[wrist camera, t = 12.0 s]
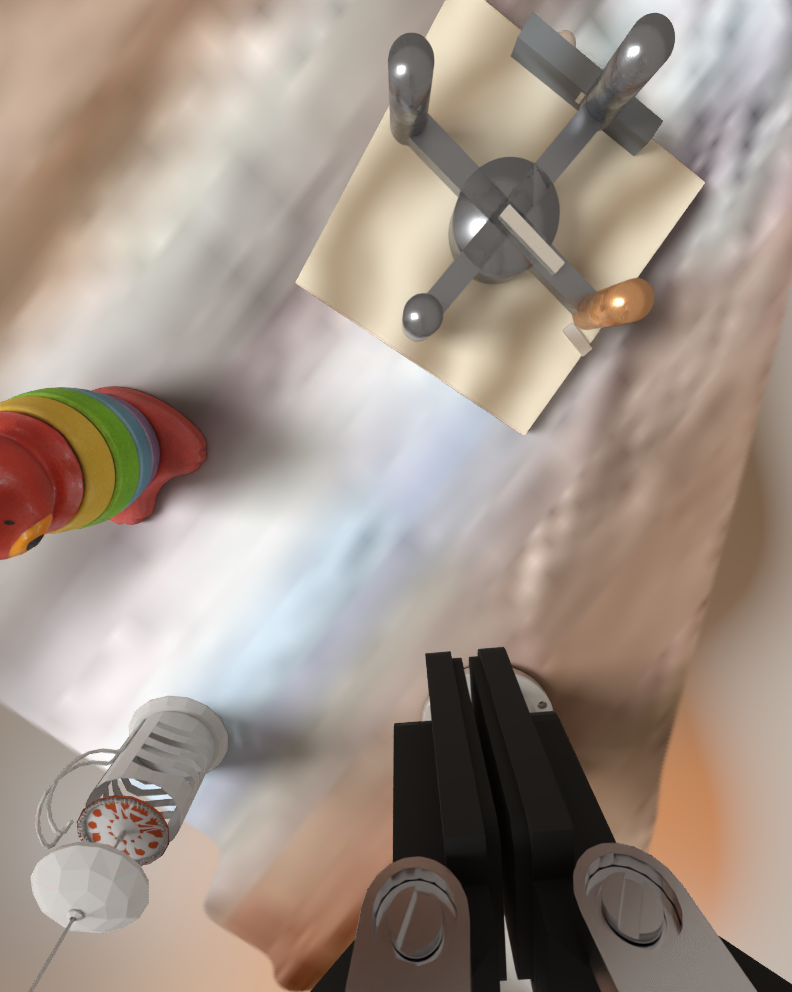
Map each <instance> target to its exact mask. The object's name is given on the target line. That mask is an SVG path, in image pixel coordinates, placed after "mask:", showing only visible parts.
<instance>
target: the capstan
mask: <svg viewBox="0 0 792 992" xmlns="http://www.w3.org/2000/svg"><path fill="white" fill-rule="evenodd" d="M674 43H675V32H674V28H673V25H672V23H671V22H670V20H669V19H668V18H667V17H666V16H664V15H662V14H659V13H650V14H647V15H645V16H643V17H642V18H640V19H639V20H638V21H637V22H636V23H635V25H634V26H633V28H632V29H631V31H630V32H629V33H628V35H627V36H626V38H625V39H624V41H623V42H622V43H621V45H620V46H619V48H618V49H617V51H616V52H615V53H614V55H613V56H612V58H611V59H610V61H609V62H608V63H607V65H606V66H605V68H604V69H603V71H602V72H601V73H600V75H599V76H598V78H597V79H596V81H595V82H594V83H593V85H592V86H591V88H590V89H589V91H588V92H587V93H586V95H585V96H584V98H583V99H582V102H581V104H580V109H579V110H578V111H577V113H576V114H575V115H574V116H573V117H572V119H571V120H570V121H569V122H568V124H567V125H566V126H565V127H564V128H563V130H562V131H561V132H560V133H559V134H558V136H557V137H556V138H555V139H554V140H553V142H552V143H551V144H550V145H549V146H548V148H547V149H546V150H545V151H544V153H543V154H542V155H541V156H540V157H539V159H538V160H537V161H536V162H535V163H533V162H531V161H529V160H526V159H523V158H519V157H502V158H498V159H494V160H492V161H490V162H488V163H486V164H484V165H483V166H481V167H480V168H479V166H478V165H477V164H476V163H475V162H474V161H473V160H472V159H471V158H470V157H469V156H468V155H467V154H466V153H465V152H464V151H463V150H462V149H461V147H460V146H459V145H458V144H457V143H456V142H455V141H454V140H453V139H452V138H451V137H450V136H449V135H448V134H447V133H446V132H445V131H444V129H443V128H442V127H441V126H440V125H439V124H438V123H437V122H436V121H435V120H434V119H433V118H432V117H431V116H430V115H429V114H428V110H429V102H430V94H431V86H432V79H433V71H434V60H435V59H434V52H433V49H432V47H431V45H430V43H429V42H428V41H427V39H426V38H424V37H423V36H422V35H420V34H417V33H406V34H404V35H402V36H400V37H399V38H398V39H397V40H396V41H395V42H394V43H393V45H392V47H391V49H390V52H389V58H388V70H389V108H390V130H391V133H392V135H393V137H394V139H395V140H396V141H397V142H398V143H400V144H402V145H405V146H409V147H410V148H411V149H412V150H413V151H414V153H415V154H416V155H417V156H418V157H419V158H420V159H421V160H422V161H423V162H424V163H425V164H426V165H427V166H428V167H429V168H430V169H431V170H432V171H433V172H434V173H435V174H436V175H437V176H438V177H439V178H440V179H441V180H442V181H443V182H444V183H445V184H446V185H447V187H448V188H449V189H450V190H451V191H452V192H453V193H454V194H455V195H456V196H457V197H458V199H457V202H456V205H455V207H454V210H453V213H452V216H451V219H450V223H449V230H448V239H449V246H450V250H451V253H452V256H453V258H454V261H453V262H452V264H451V265H450V266H449V267H448V268H447V270H446V271H445V272H444V273H443V275H442V276H441V277H440V278H439V279H438V281H437V282H436V283H435V284H434V285H433V287H432V288H431V289H430V290H429V291H428V293H419V294H416V295H414V296H413V297H411V298H410V299H409V300H408V301H407V303H406V304H405V307H404V310H403V317H402V330H403V333H404V334H405V336H406V337H407V338H408V339H410V340H412V341H415V342H421V341H424V340H426V339H428V338H429V337H430V336H431V335H432V334H433V333H435V332H436V331H437V330H438V329H439V327H440V326H441V324H442V321H443V313H444V312H445V311H446V310H447V309H448V308H449V306H450V305H451V304H452V303H453V302H454V300H455V299H456V298H457V297H458V296H459V295H460V293H461V292H462V291H463V290H464V289H465V287H466V286H467V285H468V284H469V283H470V282H471V280H472V279H473V280H476V281H478V282H481V283H485V284H501V283H505V282H508V281H510V280H513V279H515V278H516V277H518V276H519V275H521V274H522V273H523V272H525V271H526V270H529V271H530V272H531V273H532V274H533V275H534V276H535V277H536V278H537V279H538V280H539V281H540V282H541V283H542V284H543V285H544V286H545V288H546V289H547V290H548V291H549V292H550V293H551V294H552V295H553V296H554V297H555V298H556V299H557V300H558V301H559V302H560V303H561V304H562V305H563V306H564V307H565V308H566V309H567V310H568V311H569V312H570V313H571V314H572V318H573V321H574V323H575V325H576V326H577V327H579V328H580V329H583V330H592V329H597V328H603V327H608V326H614V325H619V324H625V323H630V322H635V321H638V320H641V319H642V318H644V317H645V316H646V315H647V314H648V313H649V312H650V310H651V308H652V306H653V303H654V291H653V288H652V287H651V285H650V284H649V283H648V282H647V281H646V280H644V279H641V278H632V279H629V280H626V281H623V282H621V283H618V284H615V285H612V286H610V287H607V288H604V289H602V290H599V291H596V290H595V289H594V288H593V287H592V286H591V285H590V284H589V283H588V282H587V281H586V280H585V279H584V278H583V277H582V275H581V274H580V273H579V272H578V271H577V270H576V269H575V268H574V267H573V266H572V265H571V264H570V263H569V262H568V261H567V260H566V259H565V258H564V256H563V255H562V254H561V253H560V252H559V251H558V250H557V249H556V248H555V247H554V246H553V245H552V243H553V240H554V238H555V236H556V233H557V230H558V225H559V218H560V206H559V199H558V195H557V192H556V189H555V187H554V184H553V183H554V182H555V181H556V180H557V179H558V178H559V176H560V175H561V174H562V173H563V172H564V170H565V169H566V168H567V167H568V166H569V165H570V163H571V162H572V161H573V160H574V159H575V157H576V156H577V155H578V154H579V153H580V152H581V150H582V149H583V148H584V147H585V146H586V144H587V143H588V142H589V141H590V140H591V139H592V137H593V136H594V135H595V134H596V133H597V131H601V130H603V129H605V128H607V127H608V126H609V125H610V124H611V123H612V122H613V120H614V119H615V118H616V117H617V116H618V115H619V114H620V113H621V111H622V110H623V109H624V108H625V107H626V106H627V105H628V104H629V102H630V101H631V100H632V99H633V98H634V97H635V96H636V95H637V93H638V92H639V91H640V90H641V89H642V88H643V87H644V85H645V84H646V83H647V82H648V81H649V80H650V79H651V78H652V76H653V75H654V74H655V73H656V72H657V71H658V70H659V69H660V67H661V66H662V65H663V64H664V63H665V62H666V61H667V59H668V58H669V56H670V55H671V53H672V50H673V47H674Z"/></svg>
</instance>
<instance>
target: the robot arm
mask: <svg viewBox="0 0 792 992" xmlns="http://www.w3.org/2000/svg"><path fill="white" fill-rule="evenodd" d="M425 656H426V667H427V678H428V689H429V697H428V699H427V701H426V702H425V705H424V708H423V712H422V720H421V721H419V722H406V723H394V776H393V863H391V864H389V865H388V866H387V867H386V868H385V869H383V870H382V871H381V872H380V873H379V874H377V876H376V877H375V879H374V880H373V882H372V883H371V885H370V886H369V888H368V889H367V892H366V895H365V898H364V901H363V904H362V907H361V912H360V917H359V922H358V927H357V932H356V937H355V940H354V941H353V942H352V944H351V945H350V946H349V947H348V948H347V949H346V951H345V952H344V953H343V954H342V955H341V956H340V958H339V959H338V960H337V961H336V962H335V963H334V965H333V966H332V967H331V968H330V969H329V970H328V972H327V973H326V974H325V975H324V976H323V977H322V979H321V980H320V981H319V982H318V983H317V984H316V986H315V987H314V988H313V989H312V990H311V991H310V992H792V984H791V983H789V982H787V981H786V980H785V979H783V978H781V977H780V976H778V975H777V974H775V973H774V972H772V971H771V970H769V969H768V968H766V967H765V966H763V965H762V964H760V963H759V962H757V961H756V960H754V959H753V958H751V957H750V956H748V955H747V954H745V953H744V952H742V951H741V950H739V949H738V948H736V947H735V946H733V945H732V944H730V943H729V942H727V941H726V940H724V939H723V938H721V937H720V936H718V935H717V933H716V932H715V931H714V929H713V928H712V926H711V925H710V923H709V922H708V921H707V919H706V918H705V916H704V915H703V913H702V912H701V911H700V910H699V908H698V906H697V905H696V904H695V902H694V901H693V899H692V898H691V896H690V895H689V893H688V892H687V890H686V889H685V888H684V886H683V885H682V884H681V882H680V881H679V880H678V879H677V878H676V877H675V876H674V875H673V873H672V872H671V871H670V870H669V869H668V868H667V867H666V866H665V865H663V864H662V863H661V862H660V861H658V860H657V859H656V858H654V857H653V856H652V855H650V854H648V853H646V852H644V851H642V850H640V849H638V848H636V847H634V846H629V845H625V844H620V843H616V841H615V839H614V837H613V835H612V832H611V830H610V828H609V826H608V824H607V822H606V819H605V817H604V815H603V813H602V811H601V809H600V806H599V804H598V802H597V800H596V798H595V796H594V793H593V791H592V789H591V787H590V785H589V782H588V780H587V778H586V776H585V774H584V772H583V769H582V767H581V765H580V763H579V761H578V759H577V756H576V754H575V752H574V750H573V748H572V746H571V743H570V741H569V739H568V737H567V735H566V733H565V730H564V728H563V726H562V724H561V722H560V720H559V718H558V716H557V714H556V713H555V712H554V711H553V708H552V704H551V702H550V700H549V698H548V696H547V694H546V692H545V691H544V690H543V688H542V687H541V685H540V684H539V683H538V682H536V681H535V680H534V679H533V678H532V677H531V676H529V675H527V674H525V673H524V672H522V671H520V670H517V669H514V668H512V665H511V662H510V660H509V657H508V655H507V652H506V650H505V648H504V647H497V648H485V649H478V656H475V657H469V668H466V669H464V667H463V662H462V658H452V656H451V652H450V651H449V652H437V653H425Z"/></svg>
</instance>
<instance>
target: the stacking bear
mask: <svg viewBox="0 0 792 992" xmlns="http://www.w3.org/2000/svg"><path fill="white" fill-rule="evenodd" d="M206 458H207V454H206V441H205V439H204V437H203V435H202V434H201V433H200V431H199V430H198V429H197V428H196V427H195V426H194V425H193V424H192V423H191V422H190V421H189V420H188V419H187V418H185V417H184V416H183V415H182V414H181V413H179V412H178V411H177V410H175V409H174V408H172V407H171V406H169V405H168V404H166V403H164V402H162V401H161V400H159V399H157V398H155V397H152V396H150V395H148V394H145V393H143V392H139V391H136V390H132V389H128V388H123V387H103V388H99V389H95V390H92V391H90V390H84V389H77V388H65V387H58V388H45V389H39V390H35V391H30V392H27V393H23V394H20V395H17V396H15V397H12V398H10V399H8V400H6V401H3V402H0V560H4V559H8V558H11V557H14V556H18V555H21V554H23V553H25V552H27V551H29V550H30V549H32V548H33V547H35V546H36V545H38V543H39V542H40V541H41V539H42V538H43V536H44V535H45V534H53V533H60V532H65V531H69V530H74V529H81V528H85V527H88V526H92V525H95V524H98V523H101V522H103V521H106V520H108V519H109V520H111V521H113V522H115V523H117V524H128V525H134V524H138V523H140V522H141V521H143V519H144V518H145V517H148V516H150V515H151V514H152V512H153V510H154V506H155V501H156V496H157V494H158V492H159V490H160V488H161V487H162V486H163V484H165V483H166V482H167V481H168V480H169V479H171V478H173V477H175V476H179V475H185V474H189V473H192V472H195V471H196V470H198V469H199V467H200V464H201V463H202V462H204V461H205V460H206Z"/></svg>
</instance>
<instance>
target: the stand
mask: <svg viewBox="0 0 792 992" xmlns="http://www.w3.org/2000/svg"><path fill="white" fill-rule="evenodd" d="M426 39H427V41H428V42H429V43H430V45H431V47H432V49H433V52H434V59H435V60H434V71H433V79H432V86H431V94H430V102H429V110H428V114H429V115H430V116H431V117H432V118H433V119H434V120H435V121H436V122H437V123H438V124H439V125H440V126H441V127H442V128H443V129H444V131H445V132H446V133H447V134H448V135H449V136H450V137H451V138H452V139H453V140H454V141H455V142H456V143H457V144H458V145H459V146H460V147H461V149H462V150H463V151H464V152H465V153H466V154H467V155H468V156H469V157H470V158H471V159H472V160H473V161H474V162H475V163H476V164H477V165H478V166H479V168H480V167H481V166H483V165H484V164H486V163H488V162H490V161H492V160H494V159H498V158H502V157H519V158H523V159H526V160H529V161H531V162H533V163H535V162H536V161H537V160H538V159H539V157H540V156H541V155H542V154H543V153H544V151H545V150H546V149H547V148H548V146H549V145H550V144H551V143H552V142H553V140H554V139H555V138H556V137H557V136H558V134H559V133H560V132H561V131H562V130H563V128H564V127H565V126H566V125H567V124H568V122H569V121H570V120H571V119H572V117H573V116H574V115H575V114H576V113H577V111H578V110H579V109H580V104H581V102H582V99H583V98H584V96H585V95H586V93H587V92H588V91H589V89H590V88H591V86H592V85H593V83H594V82H595V81H596V79H597V78H598V76H599V75H600V73H601V72H602V71H603V70H602V69H600V68H599V67H598V66H597V65H596V64H594V63H593V62H592V61H591V60H590V59H588V58H587V57H586V56H585V55H584V54H582V53H581V52H580V51H579V50H578V49H576V41H575V37H574V35H573V34H572V33H571V32H570V31H567V30H563V31H560V32H558V33H557V32H556V31H555V30H554V29H553V28H551V27H550V26H549V25H548V24H547V23H545V22H544V21H543V20H542V19H541V18H539V17H538V16H537V15H536V14H535V13H533V12H532V13H531V15H530V16H529V18H528V20H527V22H526V23H525V25H524V27H523V29H522V30H520V29H519V28H517V27H516V26H515V25H514V24H513V23H511V22H510V21H509V20H508V19H506V18H505V17H504V16H503V15H502V14H500V13H499V12H498V11H497V10H496V9H494V8H493V7H492V6H491V5H490V4H488V3H487V2H486V1H485V0H445V2H444V4H443V6H442V8H441V10H440V11H439V13H438V15H437V17H436V19H435V21H434V23H433V25H432V27H431V28H430V30H429V32H428V34H427V36H426ZM662 122H663V120H661V119H660V118H659V117H658V116H657V115H655V114H654V113H653V112H652V111H651V110H649V109H648V108H647V107H646V106H645V105H643V104H642V103H641V102H640V101H639V100H637V99H636V98H635V97H634V98H633V99H632V100H631V101H630V102H629V104H628V105H627V106H626V107H625V108H624V109H623V110H622V111H621V113H620V114H619V115H618V116H617V117H616V118H615V119H614V120H613V122H612V123H611V124H610V125H609V126H608V127H607V128H605V129H603V130H601V131H597V133H596V134H595V135H594V136H593V137H592V139H591V140H590V141H589V142H588V143H587V144H586V146H585V147H584V148H583V149H582V150H581V152H580V153H579V154H578V155H577V156H576V157H575V159H574V160H573V161H572V162H571V163H570V165H569V166H568V167H567V168H566V169H565V170H564V172H563V173H562V174H561V175H560V176H559V178H558V179H557V180H556V181H555V182H554V183H553V184H554V187H555V189H556V192H557V195H558V199H559V206H560V218H559V225H558V230H557V233H556V236H555V238H554V240H553V243H552V245H553V246H554V247H555V248H556V249H557V250H558V251H559V252H560V253H561V254H562V255H563V256H564V258H565V259H566V260H567V261H568V262H569V263H570V264H571V265H572V266H573V267H574V268H575V269H576V270H577V271H578V272H579V273H580V274H581V275H582V277H583V278H584V279H585V280H586V281H587V282H588V283H589V284H590V285H591V286H592V287H593V288H594V289H595V290H596V291H599V290H602V289H604V288H607V287H610V286H612V285H615V284H618V283H621V282H623V281H626V280H629V279H632V278H637V277H638V276H639V275H640V273H641V272H642V270H643V269H644V268H645V266H646V265H647V263H648V262H649V261H650V259H651V258H652V256H653V255H654V254H655V252H656V251H657V249H658V248H659V247H660V245H661V244H662V242H663V241H664V240H665V238H666V237H667V235H668V234H669V233H670V231H671V230H672V228H673V227H674V226H675V224H676V223H677V221H678V220H679V219H680V217H681V216H682V214H683V213H684V212H685V210H686V209H687V207H688V206H689V205H690V203H691V202H692V200H693V199H694V198H695V196H696V195H697V193H698V192H699V191H700V189H701V188H702V186H703V185H704V184H705V182H704V181H703V180H702V179H700V178H699V177H698V176H697V175H696V174H694V173H693V172H692V171H691V170H689V169H688V168H687V167H686V166H685V165H683V164H682V163H681V162H680V161H679V160H677V159H676V158H675V157H674V156H672V155H671V154H670V153H669V152H668V151H666V150H665V149H664V148H663V147H662V146H660V145H659V144H658V143H657V142H656V141H654V140H653V139H652V137H653V135H654V134H655V132H656V131H657V129H658V128H659V126H660V125H661V123H662ZM457 199H458V197H457V196H456V195H455V194H454V193H453V192H452V191H451V190H450V189H449V188H448V187H447V185H446V184H445V183H444V182H443V181H442V180H441V179H440V178H439V177H438V176H437V175H436V174H435V173H434V172H433V171H432V170H431V169H430V168H429V167H428V166H427V165H426V164H425V163H424V162H423V161H422V160H421V159H420V158H419V157H418V156H417V155H416V154H415V153H414V151H413V150H412V149H411V148H410V147H409V146H405V145H402V144H400V143H398V142H397V141H396V140H395V139H394V137H393V135H392V133H391V130H390V108H389V107H388V109H387V111H386V113H385V115H384V117H383V119H382V121H381V122H380V124H379V126H378V128H377V130H376V132H375V134H374V136H373V138H372V139H371V141H370V143H369V145H368V147H367V149H366V151H365V153H364V154H363V156H362V158H361V160H360V162H359V164H358V166H357V168H356V170H355V171H354V173H353V175H352V177H351V179H350V181H349V183H348V185H347V186H346V188H345V190H344V192H343V194H342V196H341V198H340V200H339V201H338V203H337V205H336V207H335V209H334V211H333V213H332V215H331V217H330V218H329V220H328V222H327V224H326V226H325V228H324V230H323V232H322V233H321V235H320V237H319V239H318V241H317V243H316V245H315V247H314V249H313V250H312V252H311V254H310V256H309V258H308V260H307V262H306V264H305V265H304V267H303V269H302V271H301V273H300V275H299V277H298V279H297V281H296V282H295V283H296V284H298V285H299V286H300V287H301V288H303V289H304V290H306V291H307V292H309V293H310V294H312V295H313V296H315V297H316V298H318V299H319V300H321V301H322V302H324V303H325V304H327V305H328V306H330V307H331V308H333V309H334V310H336V311H337V312H339V313H340V314H342V315H343V316H345V317H346V318H348V319H349V320H351V321H352V322H354V323H355V324H357V325H358V326H360V327H361V328H363V329H364V330H366V331H367V332H369V333H370V334H372V335H373V336H375V337H376V338H378V339H379V340H381V341H382V342H384V343H385V344H387V345H388V346H390V347H391V348H393V349H394V350H396V351H397V352H399V353H400V354H402V355H403V356H405V357H406V358H408V359H409V360H411V361H412V362H414V363H415V364H417V365H418V366H420V367H421V368H423V369H424V370H426V371H427V372H429V373H430V374H432V375H433V376H435V377H436V378H438V379H439V380H441V381H442V382H444V383H445V384H447V385H448V386H450V387H451V388H453V389H454V390H456V391H457V392H459V393H460V394H462V395H463V396H465V397H466V398H468V399H469V400H471V401H472V402H474V403H475V404H477V405H478V406H480V407H481V408H483V409H484V410H486V411H487V412H489V413H490V414H492V415H493V416H495V417H496V418H498V419H499V420H501V421H502V422H504V423H505V424H507V425H508V426H510V427H511V428H513V429H514V430H516V431H517V432H519V433H521V434H522V435H524V436H525V434H526V433H527V431H528V430H529V429H530V427H531V426H532V424H533V423H534V422H535V420H536V419H537V417H538V416H539V415H540V413H541V412H542V410H543V409H544V408H545V406H546V405H547V403H548V402H549V401H550V399H551V398H552V396H553V395H554V394H555V392H556V391H557V389H558V388H559V387H560V385H561V384H562V382H563V381H564V380H565V378H566V377H567V375H568V374H569V373H570V371H571V370H572V368H573V367H574V366H575V364H576V363H577V361H578V360H579V359H580V357H581V356H585V355H586V354H587V353H588V352H589V351H590V350H591V349H592V347H591V346H590V343H591V342H592V340H593V339H594V338H595V336H596V335H597V333H598V332H599V331H600V329H601V328H597V329H592V330H583V329H580V328H579V327H577V326H576V325H575V323H574V321H573V318H572V314H571V313H570V312H569V311H568V310H567V309H566V308H565V307H564V306H563V305H562V304H561V303H560V302H559V301H558V300H557V299H556V298H555V297H554V296H553V295H552V294H551V293H550V292H549V291H548V290H547V289H546V288H545V286H544V285H543V284H542V283H541V282H540V281H539V280H538V279H537V278H536V277H535V276H534V275H533V274H532V273H531V272H530V271H529V270H526V271H525V272H523V273H522V274H521V275H519V276H518V277H516V278H515V279H513V280H510V281H508V282H505V283H501V284H485V283H481V282H478V281H476V280H473V279H472V280H471V282H470V283H469V284H468V285H467V286H466V287H465V289H464V290H463V291H462V292H461V293H460V295H459V296H458V297H457V298H456V299H455V300H454V302H453V303H452V304H451V305H450V306H449V308H448V309H447V310H446V311H445V312H444V313H443V321H442V324H441V326H440V327H439V329H438V330H437V331H436V332H435V333H433V334H432V335H431V336H430V337H429V338H428V339H426V340H424V341H421V342H415V341H412V340H410V339H408V338H407V337H406V336H405V334H404V333H403V330H402V317H403V310H404V307H405V304H406V303H407V301H408V300H409V299H410V298H411V297H413V296H414V295H416V294H419V293H428V291H429V290H430V289H431V288H432V287H433V285H434V284H435V283H436V282H437V281H438V279H439V278H440V277H441V276H442V275H443V273H444V272H445V271H446V270H447V268H448V267H449V266H450V265H451V264H452V262H453V261H454V258H453V256H452V253H451V250H450V246H449V239H448V230H449V223H450V219H451V216H452V213H453V210H454V207H455V205H456V202H457Z"/></svg>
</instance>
